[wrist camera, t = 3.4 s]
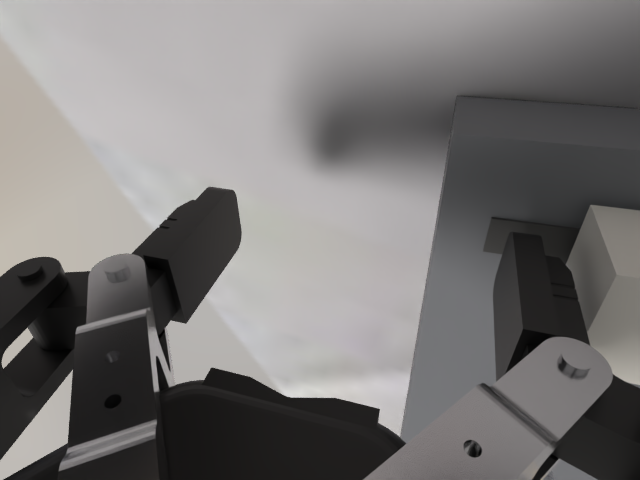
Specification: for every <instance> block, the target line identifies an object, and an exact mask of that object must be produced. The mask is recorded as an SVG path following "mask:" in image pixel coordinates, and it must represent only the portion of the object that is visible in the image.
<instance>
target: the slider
mask: <svg viewBox="0 0 640 480" xmlns="http://www.w3.org/2000/svg"><path fill="white" fill-rule="evenodd" d="M566 266H567V267H568V268H569V269H570V271H571V272H572V276H573V280H574V283H575V289H576V291H577V295H578V302H579V303H580V307H581V311H582V315H583V319H584V322H585V326H586V330H587V334H588V338H589V342H590V346H591V347H593V348H594V349H596V350H597V351H598V352H599V353H600V354H601V355H602V356H603V357H604V358H605V359H606V360H607V362H608V363H609V365H610V367H611V369H612V373H613V374H614V375H615V376H617V377H618V378H620V379H622V380H623V381H625V382H627V383H632V384H637V385H640V210H632V209H623V208H615V207H606V206H598V205H590V207H589V209H588V212H587V214H586V217H585V219H584V221H583V224H582V226H581V229H580V231H579V234H578V236H577V239H576V241H575V243H574V246H573V248H572V251H571V253H570V256H569V258H568V261H567V263H566Z"/></svg>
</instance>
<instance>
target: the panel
mask: <svg viewBox="0 0 640 480" xmlns="http://www.w3.org/2000/svg"><path fill="white" fill-rule="evenodd" d="M590 205H598V206H606V207H615V208H623V209H632V210H640V109H635V108H621V107H607V106H592V105H578V104H564V103H550V102H536V101H522V100H507V99H493V98H479V97H465V96H457V99H456V105H455V111H454V117H453V123H452V129H451V135H450V141H449V147H448V153H447V159H446V165H445V171H444V177H443V183H442V189H441V195H440V202H439V208H438V214H437V220H436V226H435V232H434V238H433V244H432V250H431V256H430V262H429V268H428V274H427V280H426V286H425V292H424V298H423V304H422V310H421V316H420V322H419V328H418V334H417V340H416V346H415V352H414V358H413V364H412V370H411V376H410V382H409V388H408V394H407V400H406V406H405V412H404V418H403V424H402V430H401V436H400V438H401V439H402V440H403V441H404V442H406V444H407V443H408V442H409V441H410V440H412V439H413V438H414V437H415V436H416V435H418V434H419V433H420V432H421V431H422V430H424V429H425V428H426V427H427V426H428V425H430V424H431V423H432V422H433V421H434V420H436V419H437V418H438V417H439V416H441V415H442V414H443V413H444V412H445V411H447V410H448V409H449V408H450V407H451V406H453V405H454V404H455V403H456V402H457V401H459V400H460V399H461V398H462V397H463V396H465V395H466V394H467V393H468V392H469V391H471V390H472V389H473V388H474V387H476V386H477V385H479V384H481V383H485V384H486V385H488V386H489V387H490V386H492V385H493V384H494V383H495V382H496V363H495V338H494V312H493V288H494V282H495V277H496V273H497V270H498V267H499V264H500V260H501V257H502V254H503V251H504V247H505V244H506V241H507V238H508V235H509V233H510V232H511V231H512V232H519V233H526V234H533V235H540V236H541V237H542V241H543V246H544V252H545V255H546V256H553V257H559V258H560V259H561V260H562V261H563V262H564V264H565V265H566V263H567V261H568V258H569V256H570V253H571V251H572V248H573V246H574V243H575V241H576V239H577V236H578V234H579V231H580V229H581V226H582V224H583V221H584V219H585V217H586V214H587V212H588V209H589V207H590ZM629 384H632V383H629ZM632 385H634V386H636V387H638V388H640V385H637V384H632ZM552 472H553V475H554V479H555V480H598V479H596V478H594V477H592V476H590V475H588V474H587V473H585V472H583V471H581V470H579V469H577V468H576V467H574V466H572V465H570V464H568V463H567V462H565V461H563V460H560V461H559V462H558V464H557V465H556V466H555V467H554V468H553V469H552Z"/></svg>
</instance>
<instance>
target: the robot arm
mask: <svg viewBox="0 0 640 480" xmlns="http://www.w3.org/2000/svg"><path fill="white" fill-rule="evenodd" d="M240 242H241V225H240V218H239V211H238V204H237V197H236V194H235V192H234V191H233V190H229V189H222V188H215V187H208V188H207V189H206V190H205V191H204V192H203V193H202V194H201V195H200V196H199V197H198V198H197V199H196V200H191V201H189V202H187V203H185V204H183V205H182V206H180V207H178V208H177V209H176V210H175V211H174V212H173V213H172V214H171V215H170V216H169V217H168V219H167V220H165V221H164V222H163V223H162V224H161V225H160V227H159V228H157V229H156V230H155V231H154V232H153V233H152V234H151V235H150V236H149V237H148V238H147V239H146V240H145V241H144V242H143V243H142V244H141V245H140V246H139V247H138V248H137V249H136V250H135V251H134V252H133V253H132V254H119V255H114V256H111V257H108V258H106V259H104V260H102V261H100V262H99V263H97V264H96V265H95V266H94V267H93V268H92V270H91V271H87V272H68V273H65V272H64V270H63V268H62V266H61V264H60V263H59V261H58V260H56V259H54V258H50V257H38V258H33V259H29V260H26V261H24V262H21V263H19V264H17V265H15V266H14V267H12V268H11V269H10V270H8V271H7V272H6V273H5V274H3V275H2V276H1V277H0V460H1V459H2V457H3V456H4V455H5V454H6V452H7V451H8V450H9V448H10V447H11V446H12V445H13V443H14V442H15V441H16V439H17V438H18V437H19V436H20V435H21V433H22V432H23V431H24V430H25V428H26V427H27V426H28V425H29V423H30V422H31V421H32V420H33V418H34V417H35V416H36V415H37V413H38V412H39V411H40V410H41V408H42V407H43V406H44V404H45V403H46V402H47V401H48V400H49V398H50V397H51V396H52V395H53V393H54V392H55V391H56V390H57V388H58V387H59V386H60V385H61V383H62V382H63V381H64V380H65V378H66V377H67V376H68V374H69V373H70V372H71V371H72V369H73V378H72V393H71V407H70V421H69V435H68V443H67V444H66V445H64V446H62V447H60V448H59V449H57V450H55V451H53V452H51V453H50V454H48V455H46V456H44V457H43V458H41V459H39V460H37V461H36V462H34V463H32V464H31V465H28V466H27V467H25V468H23V469H21V470H20V471H18V472H16V473H14V474H13V475H11V476H9V477H7V478H6V479H4V480H543V479H544V478H545V477H546V476H547V475H548V474H549V473H550V471H551V470H552V469H553V468H554V467H555V466H556V465H557V464H558V462H559V461H560V460H563V461H565V462H567V463H568V464H570V465H572V466H574V467H576V468H577V469H579V470H581V471H583V472H585V473H587V474H588V475H590V476H592V477H594V478H596V479H598V480H640V388H638V387H636V386H634V385H632V384H629V383H627V382H625V381H623V380H622V379H620V378H618V377H617V376H615V375H614V374H613V373H612V369H611V367H610V365H609V363H608V362H607V360H606V359H605V358H604V357H603V356H602V355H601V354H600V353H599V352H598V351H597V350H596V349H594V348H593V347H591V346H590V342H589V338H588V334H587V330H586V326H585V322H584V319H583V315H582V311H581V307H580V303H579V302H578V295H577V291H576V289H575V283H574V280H573V276H572V272H571V271H570V269H569V268H568V267H567V266H566V265H565V264H564V262H563V261H562V260H561V259H560V258H559V257H553V256H546V255H545V252H544V246H543V241H542V237H541V236H540V235H533V234H526V233H519V232H512V231H511V232H510V233H509V235H508V238H507V241H506V244H505V247H504V251H503V254H502V257H501V260H500V264H499V267H498V270H497V273H496V277H495V282H494V288H493V312H494V338H495V363H496V382H495V383H494V384H493V385H492V386H490V387H489V386H488V385H486V384H485V383H481V384H479V385H477V386H476V387H474V388H473V389H472V390H471V391H469V392H468V393H467V394H466V395H465V396H463V397H462V398H461V399H460V400H459V401H457V402H456V403H455V404H454V405H453V406H451V407H450V408H449V409H448V410H447V411H445V412H444V413H443V414H442V415H441V416H439V417H438V418H437V419H436V420H434V421H433V422H432V423H431V424H430V425H428V426H427V427H426V428H425V429H424V430H422V431H421V432H420V433H419V434H418V435H416V436H415V437H414V438H413V439H412V440H410V441H409V442H408V443H407V444H406V442H404V441H403V440H402V439H401V438H400V437H399V436H398V435H396V434H395V433H394V432H392V431H391V430H389V429H388V428H386V427H384V426H383V425H381V424H379V423H378V419H379V411H380V409H377V408H373V407H369V406H365V405H361V404H357V403H353V402H349V401H345V400H341V399H337V398H290V397H286V396H284V395H282V394H280V393H278V392H276V391H275V390H273V389H271V388H269V387H267V386H265V385H263V384H262V383H260V382H258V381H256V380H255V379H253V378H251V377H248V376H244V375H240V374H236V373H232V372H227V371H223V370H219V369H215V368H211V369H210V371H209V373H208V374H207V376H206V378H205V380H198V381H190V382H185V383H181V384H177V385H175V380H174V374H173V367H172V360H171V353H170V346H169V339H168V333H167V330H166V326H167V325H168V323H169V322H170V320H172V321H177V322H182V323H187V322H188V320H189V319H190V317H191V316H192V314H193V313H194V312H195V310H196V309H197V307H198V306H199V304H200V303H201V301H202V300H203V299H204V297H205V296H206V294H207V293H208V292H209V290H210V289H211V287H212V286H213V284H214V283H215V282H216V280H217V279H218V277H219V276H220V274H221V273H222V271H223V270H224V269H225V267H226V266H227V264H228V263H229V261H230V260H231V259H232V257H233V256H234V254H235V253H236V251H237V250H238V248H239V245H240ZM27 327H28V329H29V331H30V332H31V334H32V336H33V339H32V340H31V341H30V342H29V343H28V344H27V345H26V346H25V347H24V348H23V349H22V350H21V351H20V352H19V353H18V354H17V356H15V358H14V359H13V360H12V361H11V362H10V363H9V364H8V365H7V366H6V367H5V368H4V369H3V368H2V363H1V362H2V357H3V354H4V352H5V350H6V349H7V348H8V346H10V345H11V344H12V342H13V341H14V340H15V339H16V338H17V337H18V336H19V335H20V334H21V333H22V332H23V331H24V330H25V329H26V328H27Z"/></svg>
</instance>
